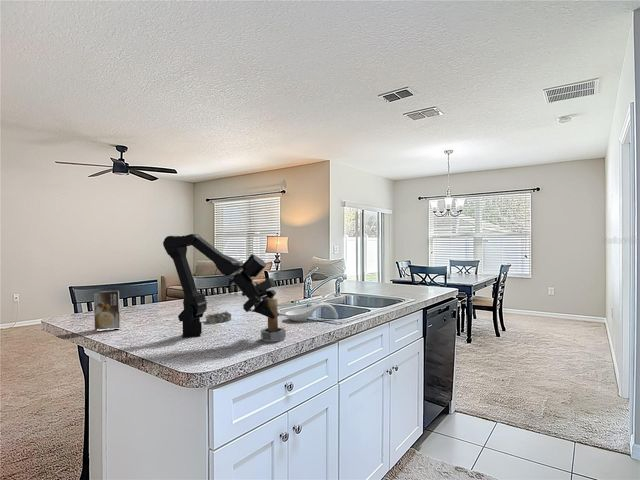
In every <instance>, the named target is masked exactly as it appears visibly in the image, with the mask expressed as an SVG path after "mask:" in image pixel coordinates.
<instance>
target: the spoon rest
mask: <svg viewBox="0 0 640 480" xmlns="http://www.w3.org/2000/svg"><path fill="white" fill-rule="evenodd" d="M323 307H326V308H329V309H330V310H331V311H332V312H333V318H334V319H335V320H338V319H339V314H338V313H337V310H336V308H335V307H334V306H333V305H331V304H329V303H326V302H320V303H316V304H314V305H311V306H307V307H304V308H299V309H293V310H289V311H286V312H285V313H284V314H285V317H286V318H287V319H289V320H291V321H293V322H305V321H307V319H309V318H310V317H311V316H312V314H314V313H315V311H316V310H318V309H319V308H323Z"/></svg>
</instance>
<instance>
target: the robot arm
mask: <svg viewBox="0 0 640 480" xmlns="http://www.w3.org/2000/svg"><path fill="white" fill-rule="evenodd" d="M162 244H163V245H162V246H163V248H164V250H165V251H166V254H167V255H168V256H169V257H170V258H171V259H172V261H173V264H174V266H175V270H176V273H177V276H178V280H179V283H180V285H181V289H182V291H183V295H184V296H183V301H182V304H183V306H182V307H183V310H182V311H181V312H180V313H179V314H178V315H177V317H178V320H179V322H182V334H181V335H182V338H184V339H186V338H193V337H202V336H201V334H202V333H203V330H202V327H203V326H202V321H201V318H203V316H204V314H205V312H206V311H207V308H208V306H207V304H208V302H207V299H206V295H205V293H200V292H199V291H198V289H197V286H196V283H195V280H194V277H193V274H192V271H191V268H190V265H189V262H188V258H187V253H188V247H191V246H192V247H194V248H195V249H196V250H197V251H199V252H200V253H201V254H203V255H204V256H205V257H206V258H208V260H210V261H211V262H213V264H214V265H215V268H216V269H217V270H218V271H219V272H220V273H221V274H222V276H225V277H228V276H233V277H231V278H228V284H227V285H228V286H229V287H230V286H236V287H237V288H238V289H239V290H240V291H241V296H242V297H246V298H247V301H245V302H244V303H243V306H242V309H243V310H244V311H245V312H246V313H249V312H251V309H252V308H254V309H253V310H252V312H253V313H257V314H259V315H262V316H265V317H267V318H268V317H269V318H272V319H274V318H275V316H274V314H273V313H272V311H271V310H270V309H269V307H268V303H267V299H272V298H275V296H276V295H277V292H276V291H275V290H274V289H271V288H275V287H276V286H277V285H276V283H275V282H276V280H275V279H274V278H273V277H271V276H269V277H266V278H265V280H263V281H261V282H258V281H254V280H253V279H252V278H257V276H259V274H260V273H261V272H262V271H263V270H264V269H265V268H266V267H267V263H266V262H265V261H264V260H263V259H261V258H260V257H258V256H257V255H256V254H254V253H252V254H250V256H248V259H246V261H245V262H239V260H237V259H236V258H233V257H232V256H229V255H226V254H224V253H222V252H221V251H219V249H217V248H215V246H213V245H212V244H210V242H208V241H207V240H205V238H203V237H202V236H201V235H200V234H198V233H197V234H196V233H191V234H186V235H168V236H166V237H165V238H164V240H163V241H162ZM279 316H280V315H279V313H278V317H279Z"/></svg>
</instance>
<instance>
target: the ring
mask: <svg viewBox="0 0 640 480" xmlns="http://www.w3.org/2000/svg"><path fill="white" fill-rule="evenodd" d="M286 334H287V333H286V329H285V328H284V327H279V326H278V332H268V327H265V328H262V329H260V338H261V341H262V342H265V343H278V342H282V341H285V339H286V337H287V336H286Z"/></svg>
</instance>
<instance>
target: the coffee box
mask: <svg viewBox="0 0 640 480" xmlns="http://www.w3.org/2000/svg"><path fill="white" fill-rule="evenodd" d="M93 307H94V308H93V310H94V311H93V312H94V315H93V316H94V331H95V330H97V329H107V328H120V329H121V312H120V290H119V289H115V290H100V291H95V292H94V293H93Z"/></svg>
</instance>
